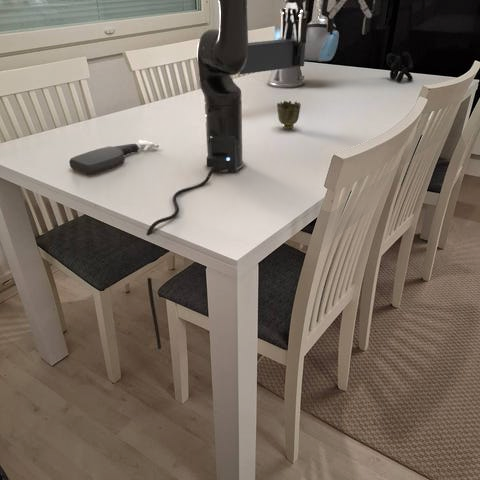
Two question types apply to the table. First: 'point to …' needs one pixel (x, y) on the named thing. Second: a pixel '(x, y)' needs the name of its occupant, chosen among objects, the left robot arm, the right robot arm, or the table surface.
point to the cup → (288, 114)
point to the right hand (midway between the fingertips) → (291, 63)
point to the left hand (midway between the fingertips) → (347, 34)
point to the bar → (271, 56)
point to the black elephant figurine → (399, 66)
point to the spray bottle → (106, 157)
